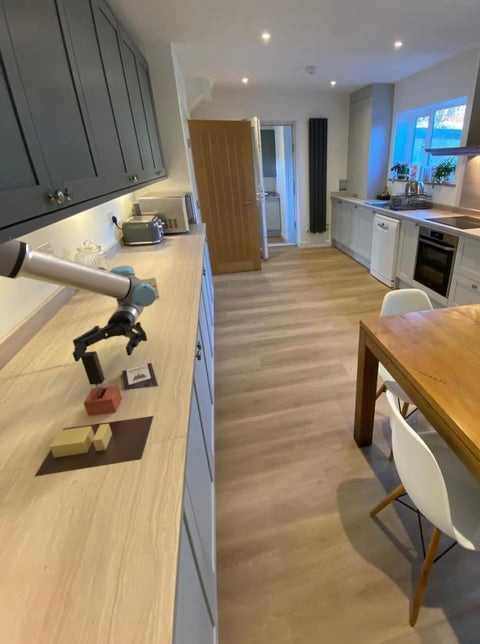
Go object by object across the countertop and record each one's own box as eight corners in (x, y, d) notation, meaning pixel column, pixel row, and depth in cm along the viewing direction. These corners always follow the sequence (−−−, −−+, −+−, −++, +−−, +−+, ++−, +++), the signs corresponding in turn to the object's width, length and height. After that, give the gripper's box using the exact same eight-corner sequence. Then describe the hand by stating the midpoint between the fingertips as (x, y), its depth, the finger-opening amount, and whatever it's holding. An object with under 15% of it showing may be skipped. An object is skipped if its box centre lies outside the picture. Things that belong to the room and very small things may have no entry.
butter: (54, 457, 75) (49, 446, 74) (63, 440, 79) (59, 430, 78) (87, 452, 76) (83, 441, 75) (94, 436, 81) (91, 425, 79)
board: (36, 481, 71) (34, 476, 71) (64, 432, 84) (63, 428, 83) (142, 463, 75) (141, 459, 75) (154, 419, 88) (153, 415, 87)
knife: (99, 415, 89) (79, 357, 82) (103, 407, 92) (84, 351, 84) (111, 413, 90) (92, 356, 82) (114, 406, 93) (96, 350, 85)
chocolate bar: (126, 403, 92) (121, 370, 106) (127, 406, 92) (122, 373, 106) (160, 392, 96) (151, 362, 110) (160, 395, 97) (151, 365, 111)
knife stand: (89, 420, 88) (83, 402, 85) (97, 405, 93) (91, 388, 91) (117, 416, 89) (111, 399, 87) (123, 401, 94) (118, 385, 92)
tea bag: (144, 297, 165) (140, 278, 161) (158, 294, 167) (155, 276, 163) (144, 299, 162) (140, 281, 158) (159, 297, 164) (155, 278, 160)
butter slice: (96, 451, 77) (92, 440, 75) (103, 435, 81) (100, 424, 80) (105, 449, 77) (101, 439, 76) (112, 433, 81) (108, 423, 80)
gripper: (163, 326, 114) (151, 360, 95) (86, 333, 109) (56, 370, 90) (160, 307, 111) (146, 338, 92) (79, 313, 106) (48, 348, 87)
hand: (102, 354), depth 91 cm, fingers open, 13 cm apart
